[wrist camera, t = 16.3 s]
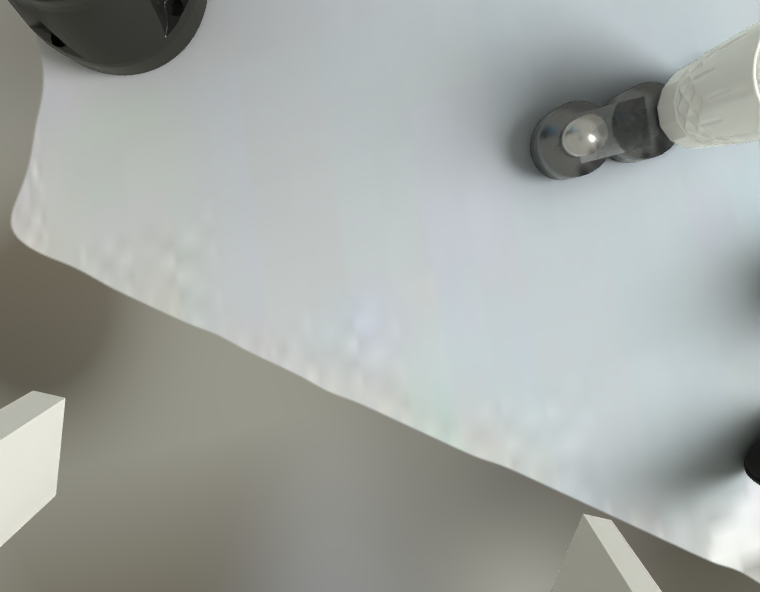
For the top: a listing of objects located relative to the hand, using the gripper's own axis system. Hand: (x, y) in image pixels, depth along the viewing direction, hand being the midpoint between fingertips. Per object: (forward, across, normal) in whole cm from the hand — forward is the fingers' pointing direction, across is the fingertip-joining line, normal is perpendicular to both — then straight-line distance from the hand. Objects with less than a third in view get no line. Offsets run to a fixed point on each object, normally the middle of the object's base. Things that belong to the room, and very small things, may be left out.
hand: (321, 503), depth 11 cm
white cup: (+30, +23, +21) cm, 43 cm away
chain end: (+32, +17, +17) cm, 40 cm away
